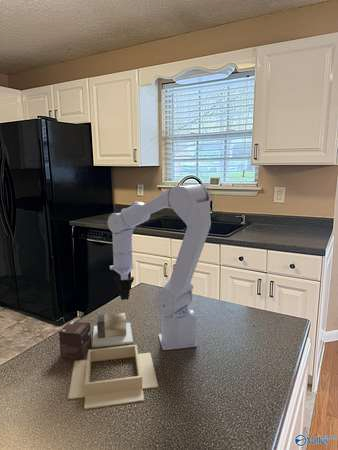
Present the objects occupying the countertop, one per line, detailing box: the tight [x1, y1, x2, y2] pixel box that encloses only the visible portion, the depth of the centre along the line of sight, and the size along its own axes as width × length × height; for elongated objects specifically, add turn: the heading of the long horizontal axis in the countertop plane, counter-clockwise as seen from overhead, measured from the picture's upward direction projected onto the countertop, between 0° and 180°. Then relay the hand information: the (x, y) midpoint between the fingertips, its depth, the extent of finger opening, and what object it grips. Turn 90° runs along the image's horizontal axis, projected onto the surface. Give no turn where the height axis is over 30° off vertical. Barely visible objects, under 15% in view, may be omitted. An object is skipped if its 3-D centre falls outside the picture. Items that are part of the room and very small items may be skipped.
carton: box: [67, 344, 159, 410], centre depth 75 cm, size 19×20×3 cm
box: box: [58, 320, 92, 361], centre depth 83 cm, size 6×6×7 cm
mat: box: [91, 321, 134, 349], centre depth 92 cm, size 11×11×1 cm
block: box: [96, 312, 127, 338], centre depth 92 cm, size 8×4×5 cm, turn 101°
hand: (124, 294), depth 98 cm, fingers open, 7 cm apart
